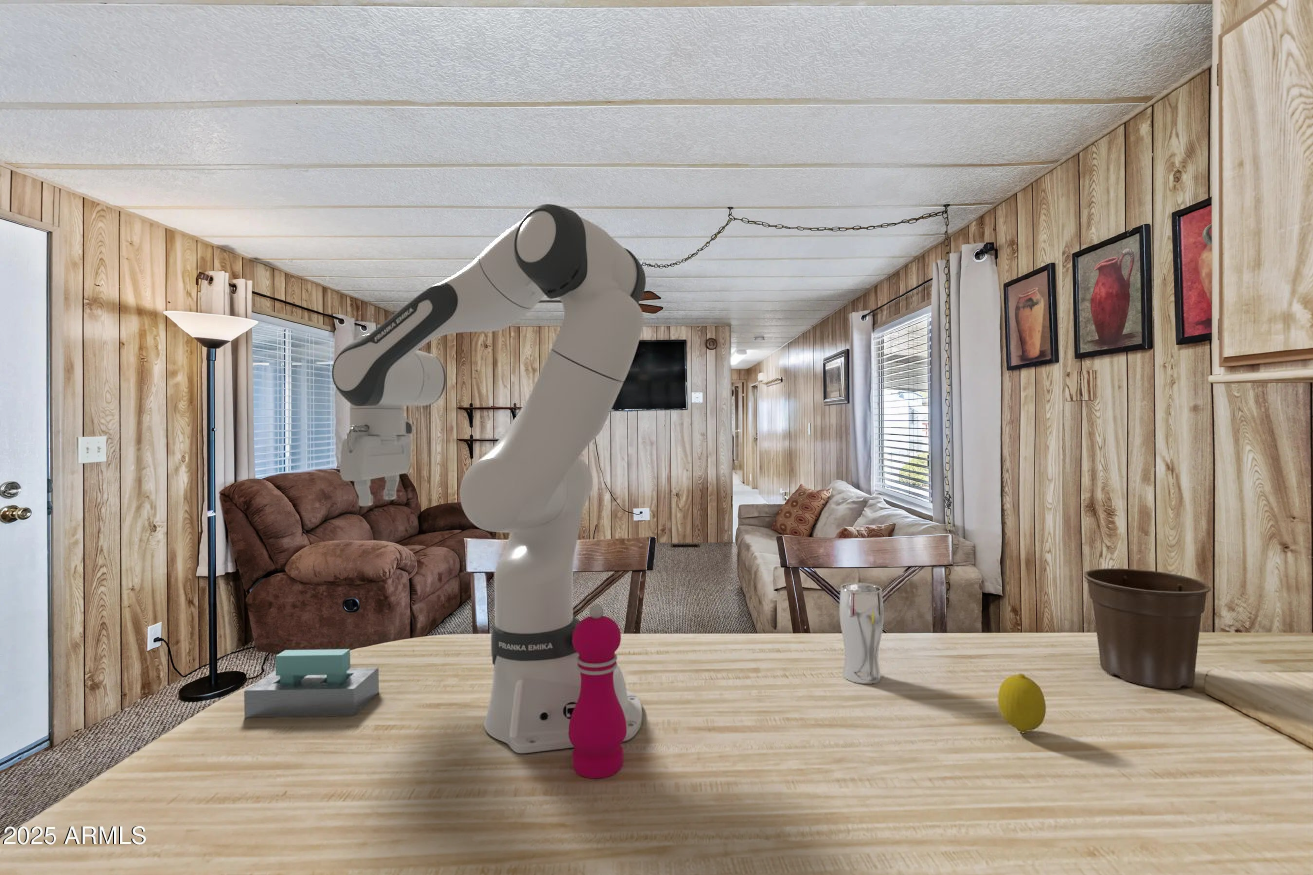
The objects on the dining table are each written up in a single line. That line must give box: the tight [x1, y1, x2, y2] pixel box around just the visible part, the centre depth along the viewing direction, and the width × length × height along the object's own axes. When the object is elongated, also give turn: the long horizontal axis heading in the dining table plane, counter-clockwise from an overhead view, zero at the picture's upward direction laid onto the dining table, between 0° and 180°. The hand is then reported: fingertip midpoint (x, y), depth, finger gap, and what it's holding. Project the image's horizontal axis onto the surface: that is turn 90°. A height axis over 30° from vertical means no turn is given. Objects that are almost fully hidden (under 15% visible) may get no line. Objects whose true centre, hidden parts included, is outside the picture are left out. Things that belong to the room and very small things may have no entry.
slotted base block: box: [243, 666, 380, 719], centre depth 92 cm, size 16×8×4 cm, turn 91°
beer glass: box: [839, 582, 884, 685], centre depth 100 cm, size 7×7×15 cm
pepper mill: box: [568, 603, 627, 779], centre depth 74 cm, size 7×7×20 cm
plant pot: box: [1083, 567, 1212, 690], centre depth 99 cm, size 16×16×16 cm
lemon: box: [997, 673, 1047, 733], centre depth 81 cm, size 6×6×8 cm
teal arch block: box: [275, 648, 351, 684], centre depth 92 cm, size 10×2×8 cm, turn 91°
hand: (378, 502), depth 107 cm, fingers open, 8 cm apart
